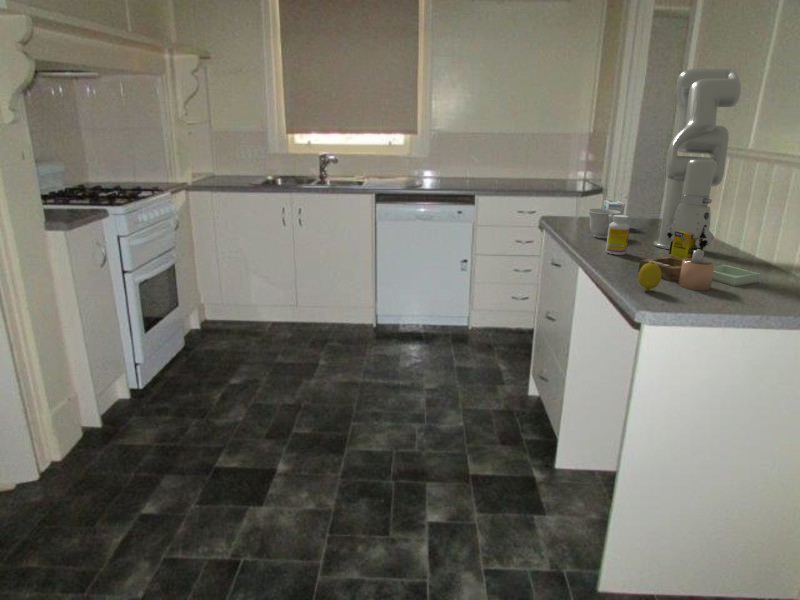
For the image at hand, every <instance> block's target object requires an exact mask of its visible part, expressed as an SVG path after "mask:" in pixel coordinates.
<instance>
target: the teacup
mask: <svg viewBox="0 0 800 600" xmlns="http://www.w3.org/2000/svg"><path fill="white" fill-rule="evenodd" d="M587 211H588V214H589V230H590V231H591V232H592V233H593V235H592V236H593V237H594V238H598V239H607V237H608V229H609V225H610V223H612V222H613V216H614V215H619V214H621V212H620V211H616V210H610V209H603V208H590V209H588V210H587Z"/></svg>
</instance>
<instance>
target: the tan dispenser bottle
mask: <svg viewBox="0 0 800 600" xmlns="http://www.w3.org/2000/svg"><path fill="white" fill-rule="evenodd" d="M704 255H705V251H704V250H703V251H701V250H700V249H697V250H694V251H693V256H692V258H685V259H683V261H682V266H681V272H680V277H679V279H678V286H679V287H682V288H684V289H686V290H692V291H694V290H695V291H708V290H710V289H711V288H712V287H711V286H712V283H713V282H712V281H713V280H712V277H713V272H714V267H715V266H716V263H715V262H714V261H712V260H708V259H706V258H705V259H704Z"/></svg>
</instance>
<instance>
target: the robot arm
mask: <svg viewBox="0 0 800 600" xmlns="http://www.w3.org/2000/svg"><path fill="white" fill-rule="evenodd" d="M741 93H742V84H741V80H740V77H739V75H738V72H737V71H736V70H735V69H732V68H690V69H685V70H684V71H682V72H681V73H680V74H678V77H677V80H676V98H677V99H676V100H677V102H678V109H679V116H678V117H679V119H678V125H677V132H676V135H674V137H673V139H672V140H671V141H670V143H669V146H668V148H667V149H668V150H667V154H666V155H667V156H666V163H665V175H666V177H667V178H666V181H667V183H666V185H667V186H666V195H665V201H664V207H663V214H662V218H661V219H662V220H661V225H660V232H659V235H658V239H657V240H654V241H653V246H655V247H657V248H659V249H666V250H669V252H668V254H669V255H670V256H671V250H672V245H673V239H674V233H675V231H680V232H684V233H689V234H692V235H693V237H692V238H693V239H694V242H695V245H696V248H694V250H697V249H700V250H701V251H704V248H706V246H708V245H709V244H710V243H711V242H712V241H713V240H714V239H715V236H714V235H713V233H712V232H711V231H710V227H711V206H709V204H712V202H713V200H712V199H711V198H710V197H711V190H712V187H716V186H719V185H720V184H721V183H722V181H723V179H724V174H725V167H726V161H727V153H728V147H729V137H730V136H729V134H730V133H729V131H728V129H727V127H725V126H723V125H717V113H718V108H732V107H735V106H736V105H737V104H738V102H739V101H740V97H741ZM678 152H679V153H683V154H696V155H699V154H701V155H709V157H707V156H706V157H705V156H689V155H688V156H685V155H678Z"/></svg>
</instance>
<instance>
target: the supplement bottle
mask: <svg viewBox="0 0 800 600" xmlns="http://www.w3.org/2000/svg"><path fill="white" fill-rule="evenodd" d="M628 220H629V216H628V215H626V214H625V215H624V214H623V215H614V216H613V222H612V223H610V225H609V229H608V237H607V238H606V246H605V252H606V253H607V254H608V253H609V255H612V254H614V255H613V256H624V255H626V254H627V251H628V250H627V249H628V243H629V242H628V241H629V236H630V228H631V227H630V225H629V224H628V223H627V222H628Z"/></svg>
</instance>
